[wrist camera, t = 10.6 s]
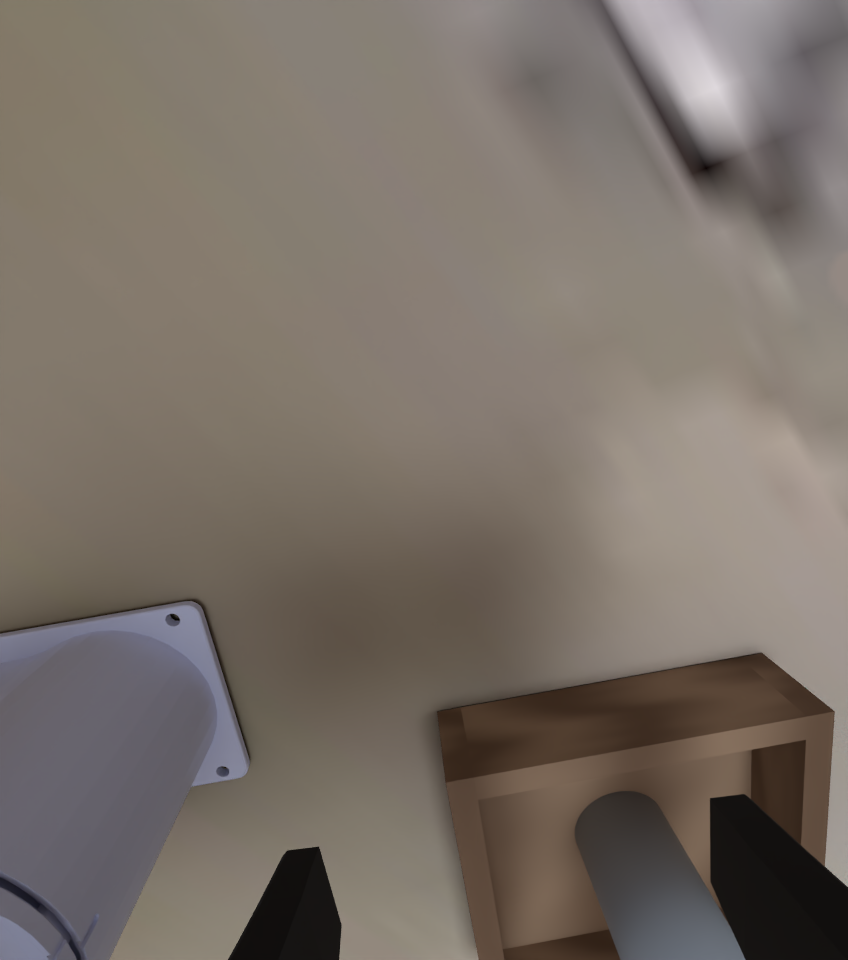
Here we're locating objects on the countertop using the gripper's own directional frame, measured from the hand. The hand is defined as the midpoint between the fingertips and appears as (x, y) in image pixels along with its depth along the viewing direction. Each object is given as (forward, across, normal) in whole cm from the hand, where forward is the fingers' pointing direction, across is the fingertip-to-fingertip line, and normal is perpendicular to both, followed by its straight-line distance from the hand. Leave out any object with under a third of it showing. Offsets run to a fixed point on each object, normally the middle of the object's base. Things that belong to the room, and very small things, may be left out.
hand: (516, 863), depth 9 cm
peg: (+10, -5, +12) cm, 17 cm away
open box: (+11, -5, +12) cm, 17 cm away
